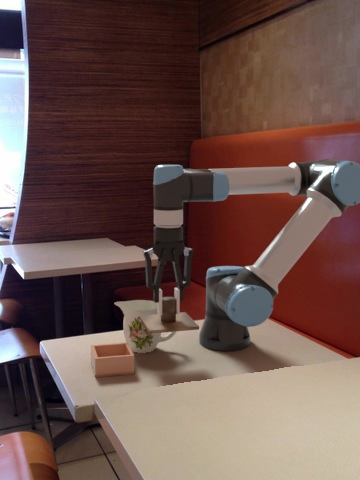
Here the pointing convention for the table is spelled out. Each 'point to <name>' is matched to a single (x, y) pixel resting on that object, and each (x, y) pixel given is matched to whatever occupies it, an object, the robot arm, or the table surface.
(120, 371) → the terracotta dish
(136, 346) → the pitcher
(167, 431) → the table surface
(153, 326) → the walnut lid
